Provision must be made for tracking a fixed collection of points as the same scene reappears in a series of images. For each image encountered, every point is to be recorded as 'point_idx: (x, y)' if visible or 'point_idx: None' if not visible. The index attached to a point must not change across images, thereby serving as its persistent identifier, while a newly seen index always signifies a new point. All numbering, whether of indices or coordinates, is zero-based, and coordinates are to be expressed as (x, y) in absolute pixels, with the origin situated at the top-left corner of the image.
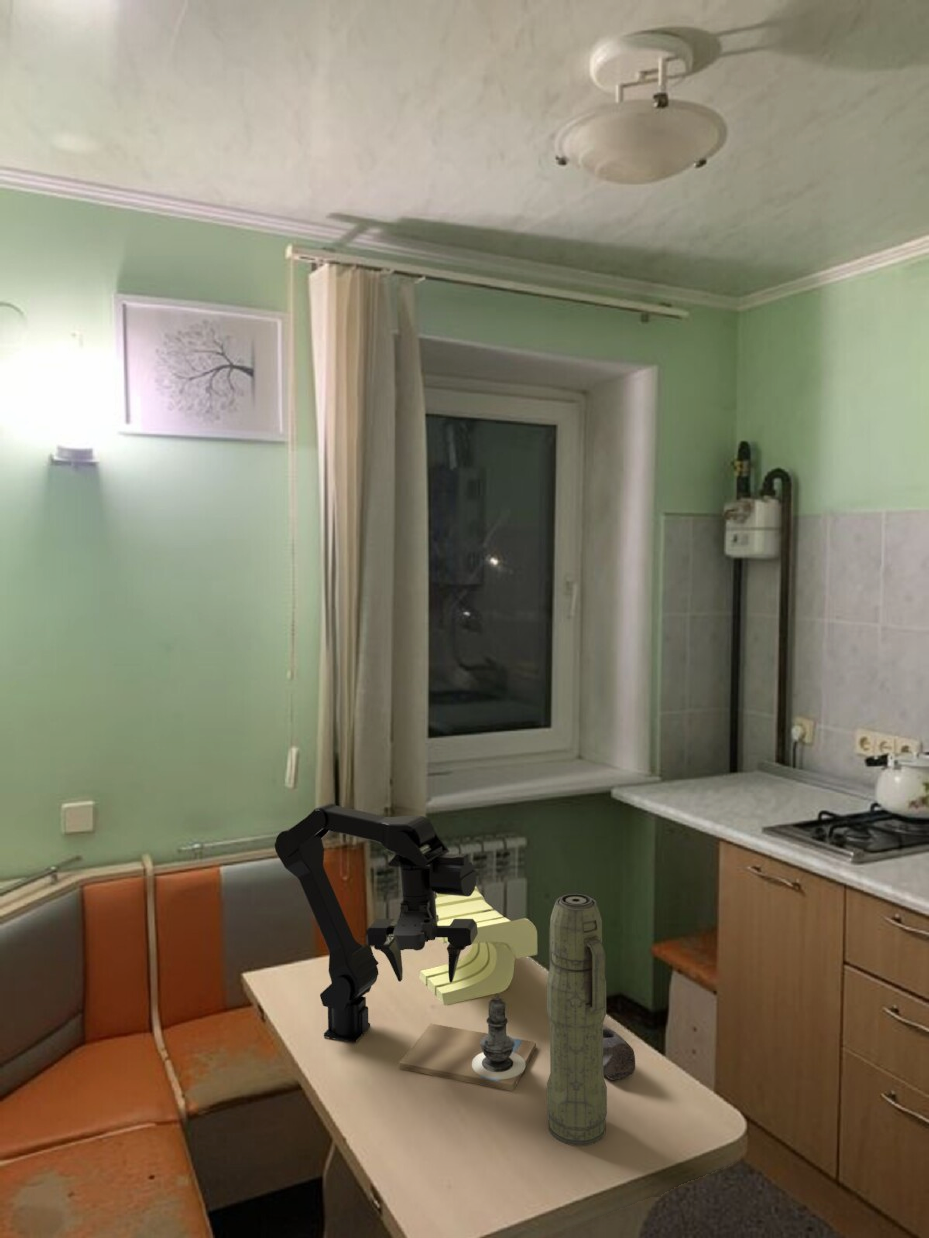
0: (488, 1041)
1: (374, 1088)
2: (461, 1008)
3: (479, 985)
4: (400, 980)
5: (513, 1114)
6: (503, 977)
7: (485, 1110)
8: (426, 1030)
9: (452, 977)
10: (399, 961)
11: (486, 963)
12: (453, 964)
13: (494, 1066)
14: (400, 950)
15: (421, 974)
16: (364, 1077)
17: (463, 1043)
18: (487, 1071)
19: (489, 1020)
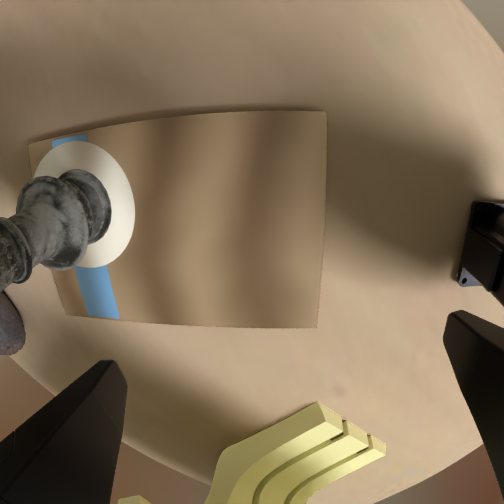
0: (49, 204)
1: (342, 10)
2: (276, 400)
3: (260, 451)
4: (452, 313)
5: (16, 74)
6: (226, 469)
7: (57, 52)
8: (316, 296)
9: (81, 376)
10: (502, 416)
11: (262, 488)
12: (14, 434)
13: (69, 181)
14: (501, 485)
15: (382, 449)
16: (392, 50)
17: (193, 267)
18: (83, 164)
19: (10, 235)
